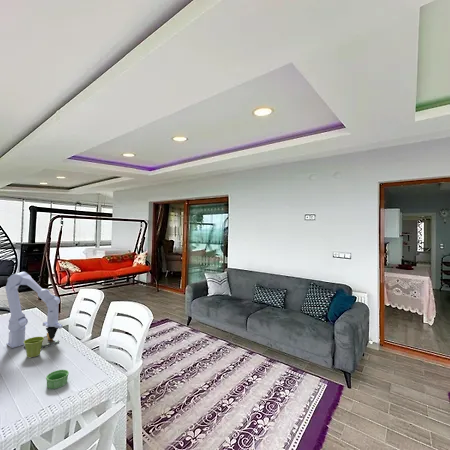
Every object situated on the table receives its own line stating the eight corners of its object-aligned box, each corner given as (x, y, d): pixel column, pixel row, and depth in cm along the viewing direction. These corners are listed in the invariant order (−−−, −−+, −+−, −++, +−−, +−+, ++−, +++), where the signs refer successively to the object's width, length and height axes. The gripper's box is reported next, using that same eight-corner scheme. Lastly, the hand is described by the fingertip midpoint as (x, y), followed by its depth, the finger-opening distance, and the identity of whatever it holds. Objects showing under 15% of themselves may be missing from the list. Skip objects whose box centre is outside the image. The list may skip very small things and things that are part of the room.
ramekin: (57, 391, 117) (58, 381, 117) (40, 388, 119) (41, 378, 119) (72, 379, 126) (73, 370, 126) (56, 377, 128) (56, 368, 128)
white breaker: (40, 344, 160) (41, 336, 160) (45, 342, 162) (45, 335, 162) (42, 345, 158) (43, 337, 158) (47, 343, 160) (47, 336, 160)
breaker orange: (46, 339, 167) (46, 332, 167) (51, 337, 169) (51, 330, 169) (48, 340, 165) (48, 333, 165) (53, 338, 167) (53, 331, 168)
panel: (23, 347, 158) (23, 344, 158) (51, 338, 171) (51, 336, 171) (30, 352, 152) (30, 348, 152) (59, 342, 165) (59, 339, 165)
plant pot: (32, 360, 143) (33, 344, 143) (18, 358, 145) (19, 342, 145) (47, 352, 152) (48, 337, 152) (34, 350, 154) (34, 335, 154)
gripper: (38, 317, 164) (37, 339, 164) (55, 320, 160) (54, 342, 159) (49, 313, 171) (48, 334, 171) (65, 316, 166) (65, 338, 166)
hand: (52, 338), depth 165 cm, fingers closed
